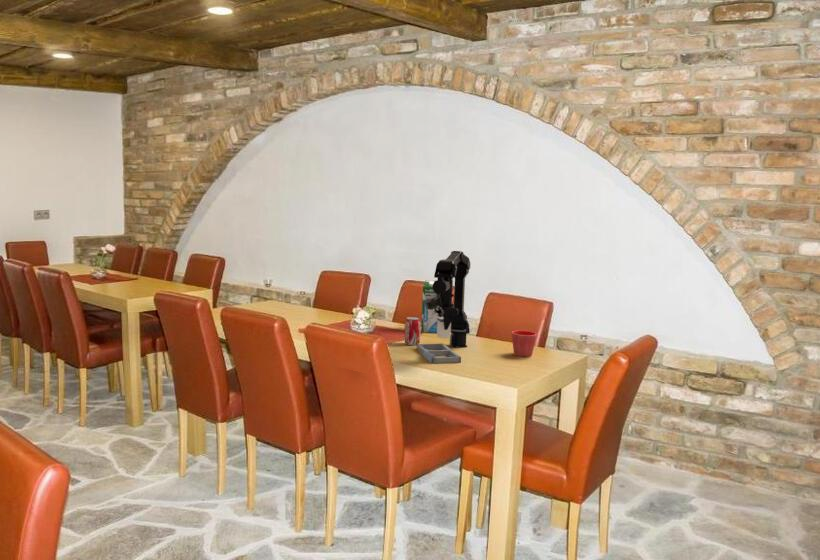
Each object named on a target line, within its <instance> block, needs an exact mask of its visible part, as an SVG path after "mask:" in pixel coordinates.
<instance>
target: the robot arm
mask: <svg viewBox="0 0 820 560" xmlns="http://www.w3.org/2000/svg"><path fill="white" fill-rule="evenodd" d="M435 266H436V267H435V271H434V276H433V278H436V279H437V280H434V281H435V282H434V283H433V286H432V287H433V291H434V292H435V293H437V294H436V297H434V298H431V299H428V300H425V301H424V302H425V305H426V308H427V309H428V310H430V309H432V308H433V309H435V308H436V310H435V311H436V312H437V313H438V315H439V317H443V321H444V329H445V330H447V329H448V327H449V325H450V323H451V338H449V345H450V346H451V347H453V348H467V347H468V345H467V335H468V334H470V332H471V330H470V324H469V321H468V316H467V313H466V312H465V289H466V288H465V286H466V284H465V283H466V277H467V275H468V274H469V273H470V270H471V260H470V258H469V256H467V255H465V253H464V252H463V251H461V250H453V251H451V252H450V254H449V255H448V256H447V257H446V258H445V259H440V260H439V261H438V262H437V263H436V265H435ZM453 279H454V280H453ZM453 285H454V286H453ZM453 287H454V288H453ZM453 290H454V292H453Z"/></svg>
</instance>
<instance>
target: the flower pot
mask: <svg viewBox="0 0 820 560" xmlns="http://www.w3.org/2000/svg"><path fill="white" fill-rule="evenodd" d="M536 339H537V333H536V332H533V331H530V330H512V331H511V340H512V349H513V350H512V351H513V355H515V356H518V357H523V356H526V357H527V356H529V357H532V356H533V352H534V348H535V344H536ZM527 358H528V357H527Z"/></svg>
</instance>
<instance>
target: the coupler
mask: <svg viewBox="0 0 820 560" xmlns="http://www.w3.org/2000/svg"><path fill="white" fill-rule="evenodd" d="M437 320H438V322H437V333H436V336H437V337H438V338H439V339H450V338H451V323H450V325H449V327H448V329H447V330H445V329H444V321H443V317H438V318H437Z"/></svg>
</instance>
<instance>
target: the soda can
mask: <svg viewBox="0 0 820 560" xmlns="http://www.w3.org/2000/svg"><path fill="white" fill-rule="evenodd" d="M404 323H405V324H404V344H406V345H407V344H408V346H417V344H421V330H422V322H421V321H420V318H419V317H415V316H408V317H406V320H405V322H404Z"/></svg>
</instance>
